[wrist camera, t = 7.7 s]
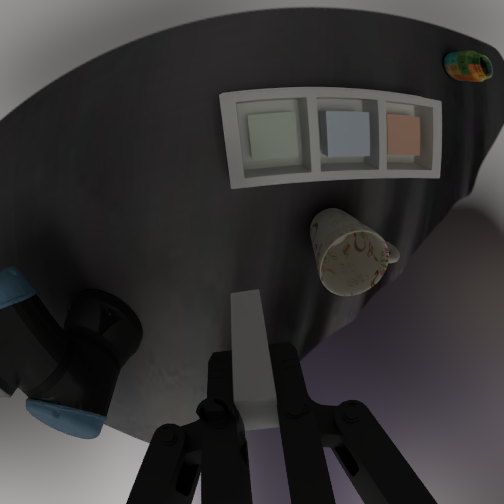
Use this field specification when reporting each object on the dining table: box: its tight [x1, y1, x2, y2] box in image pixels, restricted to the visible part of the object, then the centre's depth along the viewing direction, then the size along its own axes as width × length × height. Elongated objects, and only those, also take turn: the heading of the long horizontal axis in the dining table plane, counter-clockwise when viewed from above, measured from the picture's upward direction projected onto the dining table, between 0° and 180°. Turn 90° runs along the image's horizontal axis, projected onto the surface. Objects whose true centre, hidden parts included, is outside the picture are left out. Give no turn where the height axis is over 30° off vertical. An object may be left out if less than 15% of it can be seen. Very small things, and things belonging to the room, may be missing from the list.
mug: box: [310, 208, 400, 296], centre depth 33 cm, size 8×13×10 cm, turn 87°
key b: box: [319, 111, 370, 157], centre depth 27 cm, size 5×5×2 cm
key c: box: [386, 114, 420, 156], centre depth 28 cm, size 5×5×2 cm
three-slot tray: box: [219, 87, 442, 189], centre depth 28 cm, size 26×11×6 cm, turn 96°
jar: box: [444, 51, 493, 82], centre depth 21 cm, size 5×5×8 cm
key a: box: [247, 112, 298, 161], centre depth 28 cm, size 5×5×2 cm
